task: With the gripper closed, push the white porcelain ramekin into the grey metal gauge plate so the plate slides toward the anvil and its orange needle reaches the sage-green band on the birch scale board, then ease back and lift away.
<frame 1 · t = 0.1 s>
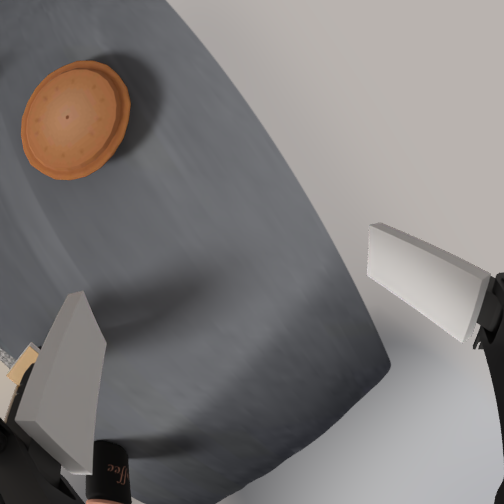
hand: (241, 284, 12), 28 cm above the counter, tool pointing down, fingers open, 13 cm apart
coffee jar: (107, 449, 49), on the counter
staircase: (59, 339, 38), on the counter
pie: (79, 121, 29), on the counter
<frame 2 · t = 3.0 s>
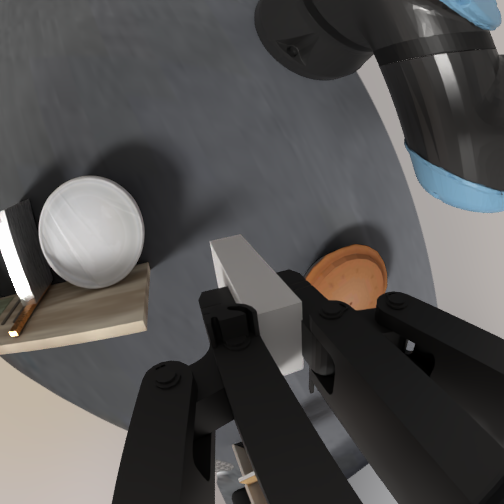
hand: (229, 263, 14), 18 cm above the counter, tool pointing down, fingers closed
coffee jar: (247, 490, 61), on the counter
ramekin: (99, 222, 28), on the counter
gauge sled: (14, 261, 20), point 6 cm above the counter, slide at 0.0 cm
scale board: (54, 288, 28), on the counter
staircase: (258, 433, 49), on the counter
pie: (331, 286, 40), on the counter
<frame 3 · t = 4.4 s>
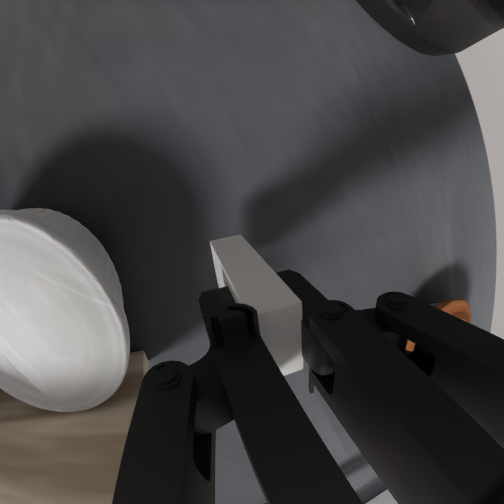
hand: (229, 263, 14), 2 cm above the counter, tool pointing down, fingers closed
ramekin: (51, 283, 14), on the counter
scale board: (7, 373, 14), on the counter
pie: (404, 347, 26), on the counter
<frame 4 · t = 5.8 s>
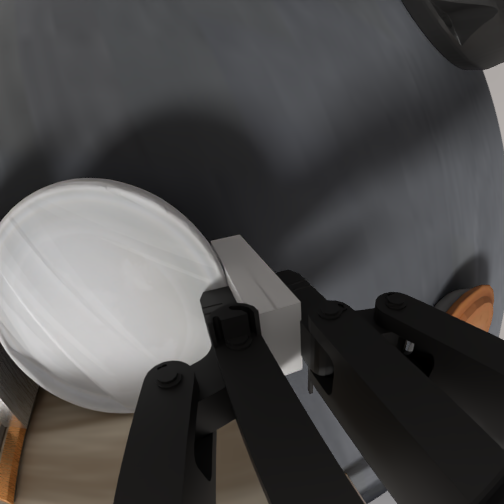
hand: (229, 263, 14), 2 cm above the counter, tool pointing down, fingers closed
ramekin: (111, 271, 14), on the counter, touching gripper
scale board: (52, 372, 15), on the counter
pie: (436, 331, 27), on the counter
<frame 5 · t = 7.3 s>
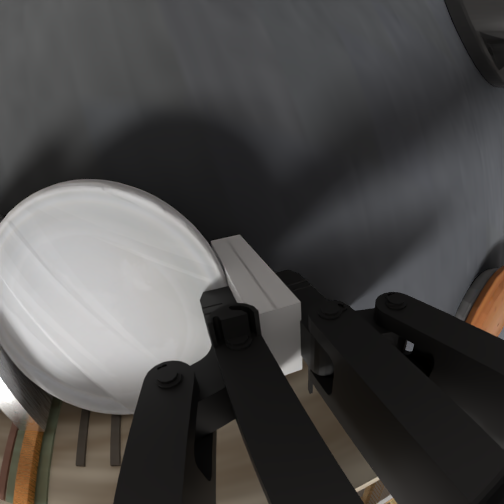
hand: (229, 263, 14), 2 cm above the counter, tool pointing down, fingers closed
ramekin: (111, 272, 14), on the counter, touching gauge sled, gripper
scale board: (159, 358, 17), on the counter
staircase: (355, 467, 38), on the counter
pie: (471, 307, 29), on the counter
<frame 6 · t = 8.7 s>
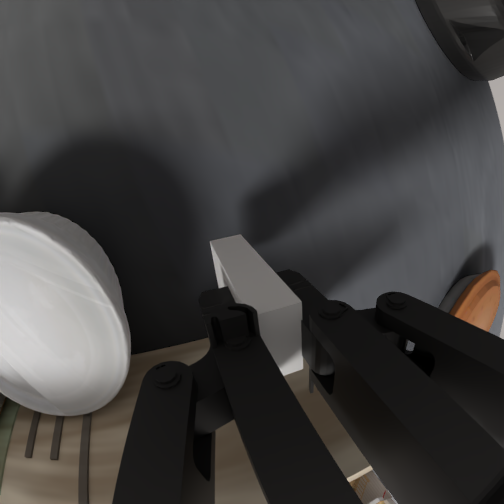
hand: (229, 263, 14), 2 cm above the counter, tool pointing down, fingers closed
ramekin: (50, 287, 14), on the counter
scale board: (105, 365, 16), on the counter
staircase: (334, 474, 38), on the counter
pie: (450, 315, 29), on the counter
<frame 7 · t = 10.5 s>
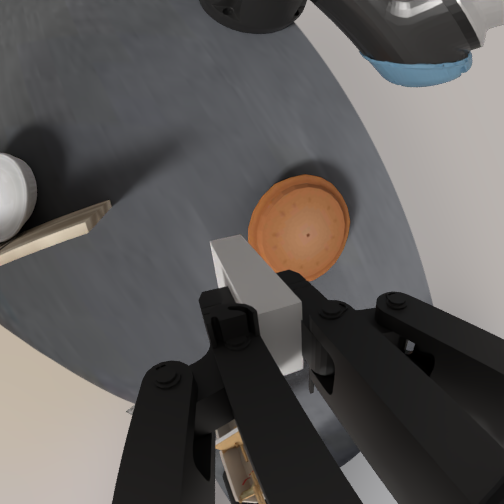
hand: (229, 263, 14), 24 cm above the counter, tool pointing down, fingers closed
coffee jar: (239, 469, 63), on the counter
ramekin: (12, 192, 27), on the counter
scale board: (31, 232, 29), on the counter
staircase: (236, 398, 51), on the counter
pie: (291, 225, 41), on the counter
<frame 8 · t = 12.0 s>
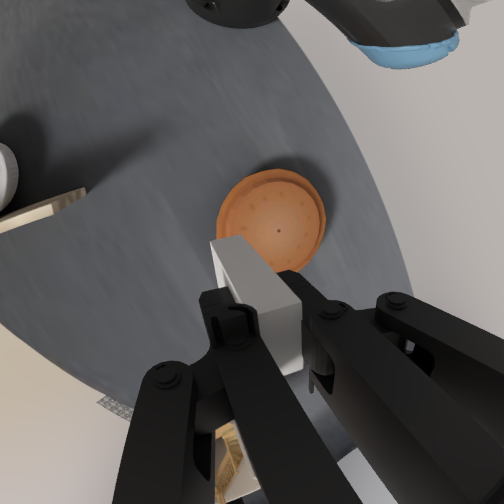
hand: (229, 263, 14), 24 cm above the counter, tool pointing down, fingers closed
scale board: (11, 216, 28), on the counter
staircase: (207, 397, 50), on the counter
pie: (265, 220, 40), on the counter
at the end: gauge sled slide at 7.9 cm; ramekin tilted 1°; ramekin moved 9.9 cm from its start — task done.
